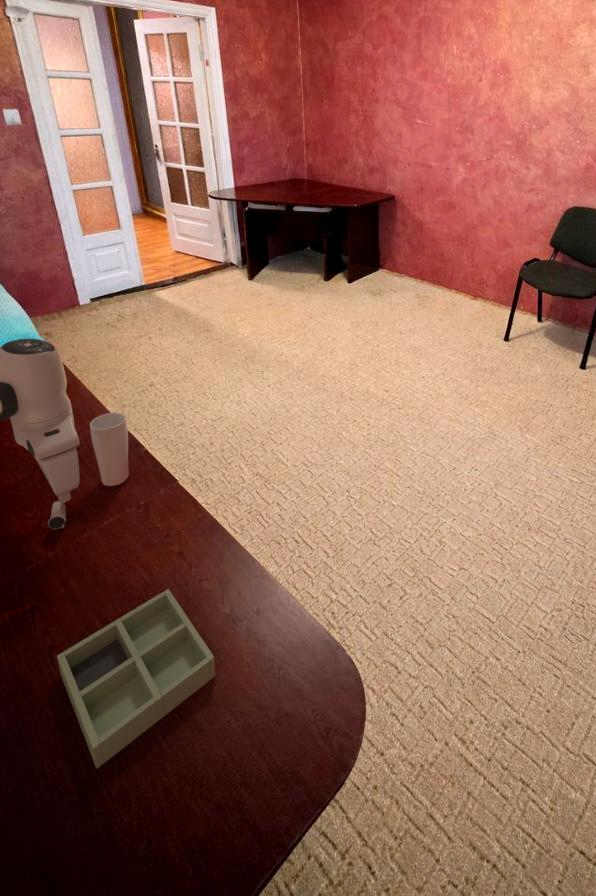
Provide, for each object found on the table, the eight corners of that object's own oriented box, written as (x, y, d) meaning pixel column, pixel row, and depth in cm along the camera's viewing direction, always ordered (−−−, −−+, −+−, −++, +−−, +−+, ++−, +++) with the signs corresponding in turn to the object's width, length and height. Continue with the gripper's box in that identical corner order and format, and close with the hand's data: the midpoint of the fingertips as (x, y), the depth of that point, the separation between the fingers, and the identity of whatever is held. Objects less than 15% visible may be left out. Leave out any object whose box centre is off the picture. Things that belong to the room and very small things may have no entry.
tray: (96, 769, 59) (92, 748, 58) (60, 674, 69) (56, 655, 67) (215, 676, 70) (214, 657, 69) (170, 605, 80) (168, 588, 78)
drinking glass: (95, 476, 107) (86, 418, 103) (129, 465, 111) (122, 409, 107) (101, 494, 102) (92, 433, 98) (136, 481, 107) (129, 423, 102)
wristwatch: (49, 536, 91) (45, 515, 90) (54, 518, 95) (50, 497, 94) (67, 532, 92) (64, 510, 91) (71, 514, 97) (68, 493, 95)
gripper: (9, 407, 91) (23, 468, 96) (37, 457, 78) (52, 525, 83) (49, 396, 96) (61, 454, 100) (81, 441, 83) (93, 506, 87)
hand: (57, 487), depth 91 cm, fingers open, 8 cm apart
